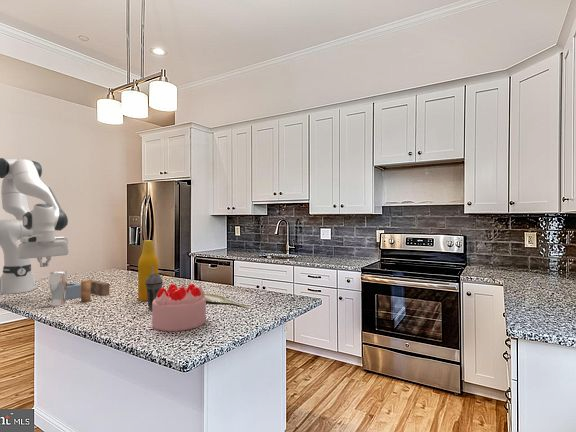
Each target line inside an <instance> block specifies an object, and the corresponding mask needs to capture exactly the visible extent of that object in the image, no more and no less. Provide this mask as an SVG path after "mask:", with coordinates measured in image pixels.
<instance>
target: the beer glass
mask: <svg viewBox="0 0 576 432" xmlns="http://www.w3.org/2000/svg"><path fill="white" fill-rule="evenodd" d="M48 283H49V290H50V296H51V300H50V301H51V302H50V306H51V307H60V306H65V305H67V300H66V299H65V294H66V288H67V283H68V272H67V271H63V270H62V271H61V270H60V271H52V272H50V273H49V282H48Z"/></svg>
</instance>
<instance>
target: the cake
mask: <svg viewBox="0 0 576 432" xmlns="http://www.w3.org/2000/svg"><path fill="white" fill-rule="evenodd" d="M205 294H206V293H205V291H204V290H203V289H202V285H201V284H200V285H199V286H195V284H194V283H190V284H189V285H188V286H187V287H186V286H185V285H184V284H182V283H181V287H179V288H178V287H177V285H176V284H175V283H171V284H170V285H169V287H168V288H167V289H166V288H165V286H163V285H162V288H161V289H160V290H159V291H158V293H157V297H156V298H155V299H154V300H153V302H152V310H151V311H152V313H151V315H152V320H151V322H152V327H153V328H154V329H155V330H158V331H162V332H183V331H188V330H192V329H196V328H199V327H201V326H202V325H204V324H205V323H206V319H207V313H206V312H207V310H206V309H207V306H206V305H207V301H206V298H205V297H204V296H205Z"/></svg>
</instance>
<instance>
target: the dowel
mask: <svg viewBox="0 0 576 432" xmlns="http://www.w3.org/2000/svg"><path fill="white" fill-rule="evenodd" d="M91 280H92V279H84V280H81V281H80V284H81V297H80V303H88V302H89V303H90V302H91V301H92V298H91V297H92V296H91V295H92V293H91Z"/></svg>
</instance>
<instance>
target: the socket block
mask: <svg viewBox="0 0 576 432" xmlns="http://www.w3.org/2000/svg"><path fill="white" fill-rule="evenodd" d="M76 298H81V283H77V282H70V283H69V282H67V288H66V294H65V299H66V301H68V300H71V299H76Z"/></svg>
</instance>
